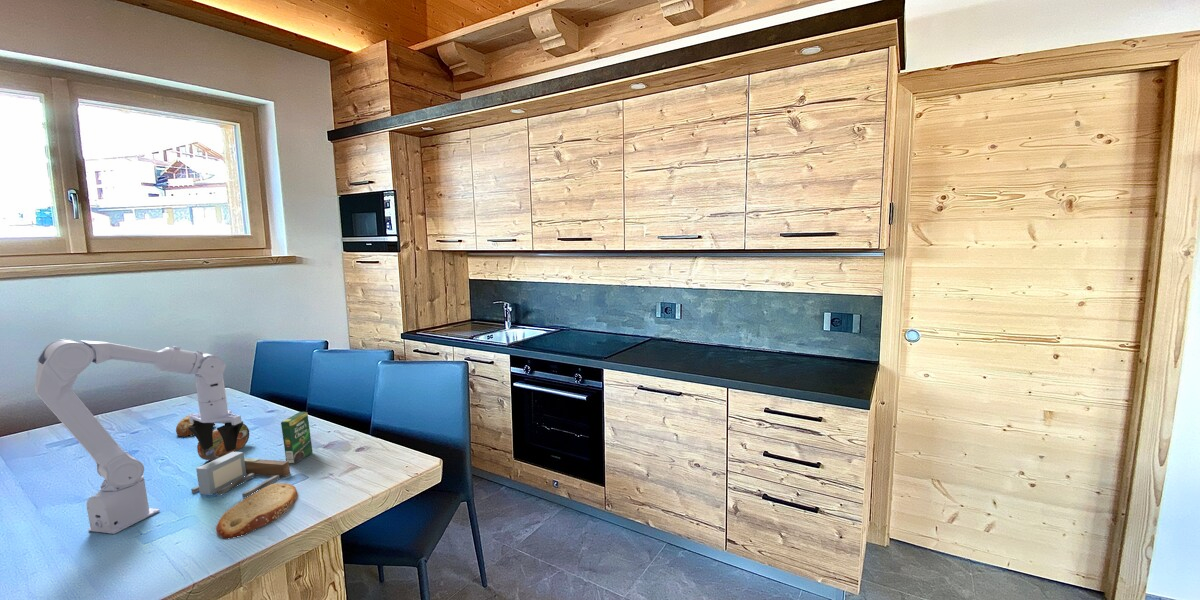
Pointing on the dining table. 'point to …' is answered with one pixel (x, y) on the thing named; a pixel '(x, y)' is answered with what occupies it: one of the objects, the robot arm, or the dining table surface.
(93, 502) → the robot arm
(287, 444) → the coffee box
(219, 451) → the tin
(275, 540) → the dining table surface
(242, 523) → the bread slice
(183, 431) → the bread roll
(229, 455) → the grey rectangular block
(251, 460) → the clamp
